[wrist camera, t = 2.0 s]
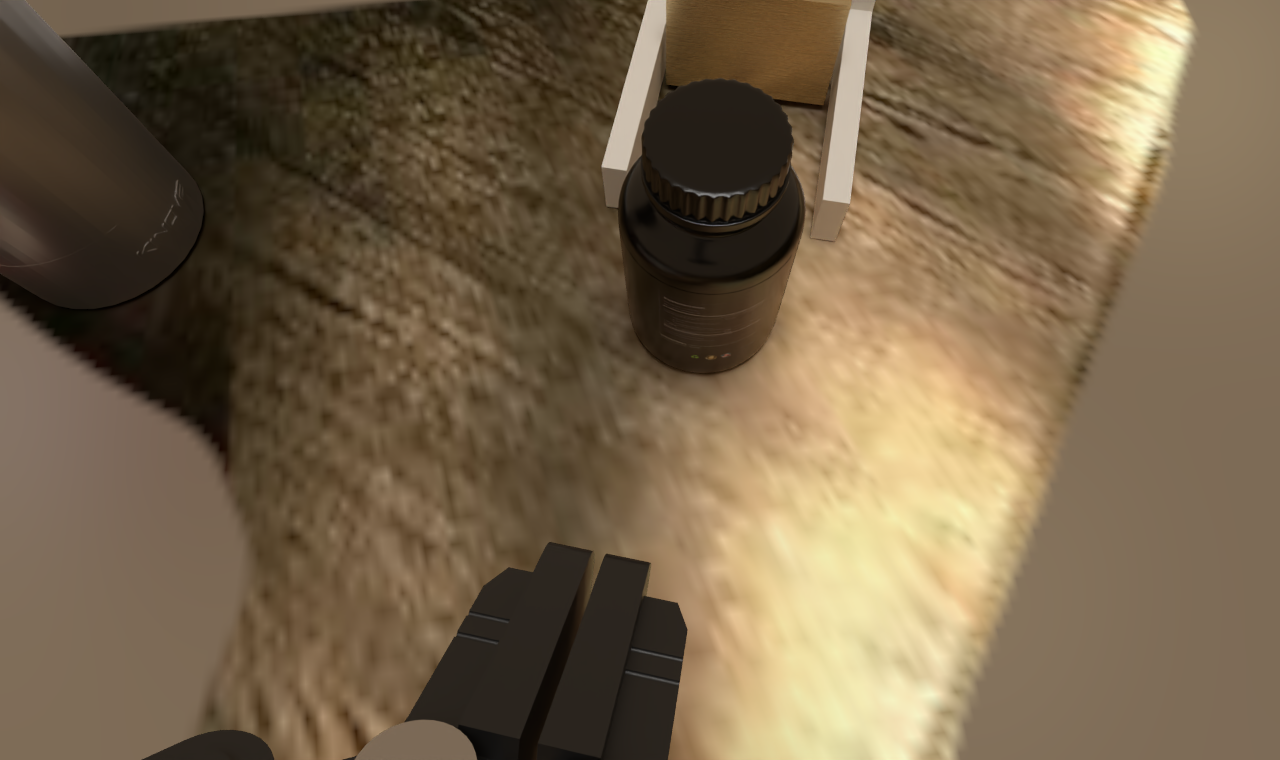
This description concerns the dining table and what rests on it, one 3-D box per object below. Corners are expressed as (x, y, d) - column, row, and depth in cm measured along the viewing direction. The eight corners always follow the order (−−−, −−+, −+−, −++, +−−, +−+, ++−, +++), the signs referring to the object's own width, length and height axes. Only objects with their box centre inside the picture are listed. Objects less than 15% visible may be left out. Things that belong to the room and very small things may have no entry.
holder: (606, 206, 36) (594, 111, 30) (657, 17, 41) (656, -97, 35) (835, 241, 34) (870, 150, 28) (859, 42, 39) (894, -71, 33)
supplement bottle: (624, 255, 35) (605, 57, 24) (764, 244, 35) (810, 41, 24) (633, 385, 32) (616, 231, 21) (784, 374, 32) (847, 214, 21)
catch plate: (665, 84, 38) (666, -17, 33) (669, 70, 39) (670, -31, 33) (823, 105, 37) (851, 6, 32) (825, 90, 38) (853, -10, 32)
